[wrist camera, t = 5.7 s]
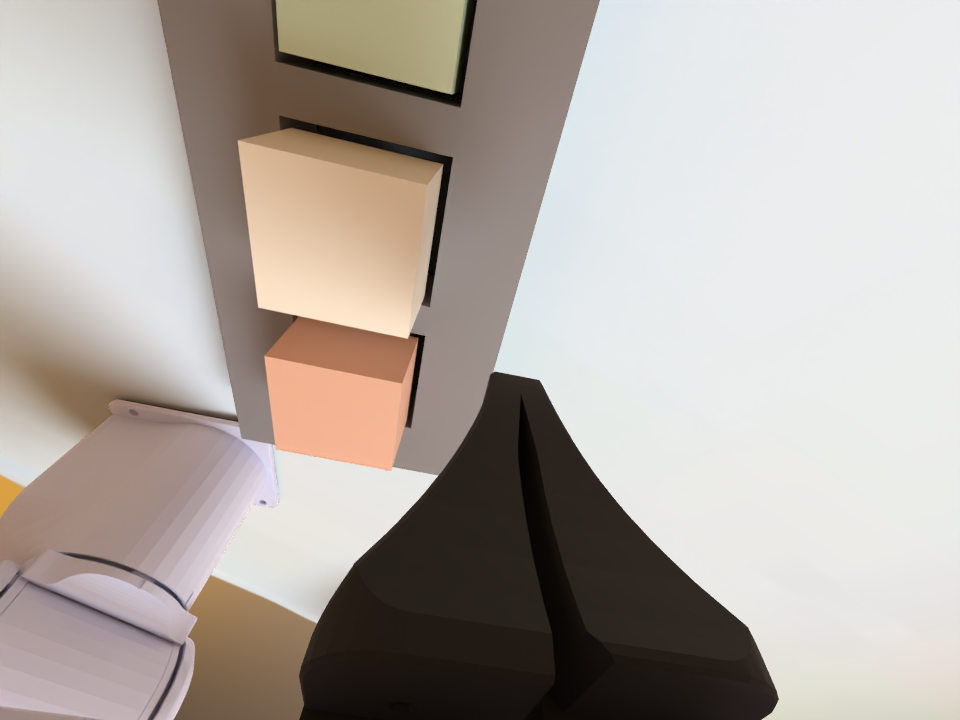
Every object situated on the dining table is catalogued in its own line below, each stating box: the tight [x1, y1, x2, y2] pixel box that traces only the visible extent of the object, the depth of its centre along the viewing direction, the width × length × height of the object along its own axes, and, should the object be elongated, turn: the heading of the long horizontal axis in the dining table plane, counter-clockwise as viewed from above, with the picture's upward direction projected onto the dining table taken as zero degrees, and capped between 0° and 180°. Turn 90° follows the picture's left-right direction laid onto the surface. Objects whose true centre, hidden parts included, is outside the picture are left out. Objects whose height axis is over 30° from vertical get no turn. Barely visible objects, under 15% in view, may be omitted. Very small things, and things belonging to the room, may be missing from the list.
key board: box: [158, 0, 600, 475], centre depth 16 cm, size 12×26×3 cm, turn 168°
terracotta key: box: [264, 316, 418, 471], centre depth 17 cm, size 5×5×3 cm
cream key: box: [238, 128, 443, 339], centre depth 13 cm, size 5×5×3 cm
